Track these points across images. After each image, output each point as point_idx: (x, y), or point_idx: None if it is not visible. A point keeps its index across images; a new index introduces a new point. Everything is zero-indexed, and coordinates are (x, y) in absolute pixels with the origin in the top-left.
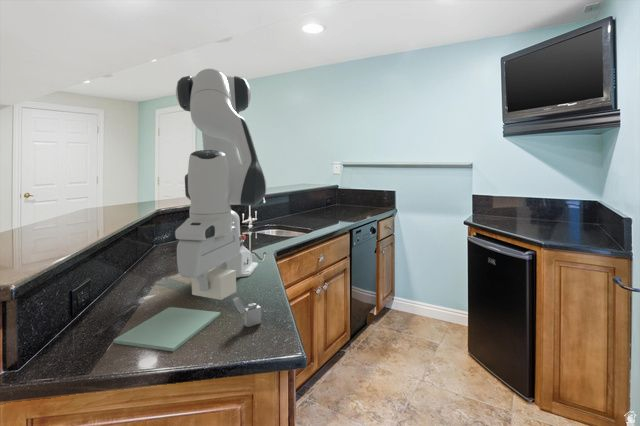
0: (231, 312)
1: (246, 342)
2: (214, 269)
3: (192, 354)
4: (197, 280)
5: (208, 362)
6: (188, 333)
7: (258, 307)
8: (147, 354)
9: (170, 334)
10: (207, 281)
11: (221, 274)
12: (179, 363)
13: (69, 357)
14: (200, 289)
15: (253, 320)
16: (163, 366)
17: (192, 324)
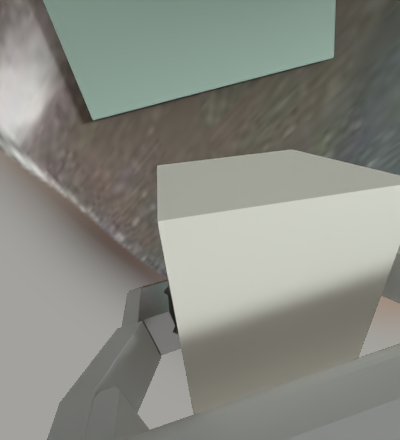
0: (350, 79)
1: None
2: (339, 301)
3: (118, 176)
4: (95, 357)
5: (119, 231)
6: (176, 83)
7: None
8: (31, 54)
9: (140, 23)
10: (150, 372)
11: None
12: (73, 182)
13: None
14: (129, 296)
15: None
16: (37, 159)
17: (229, 37)
